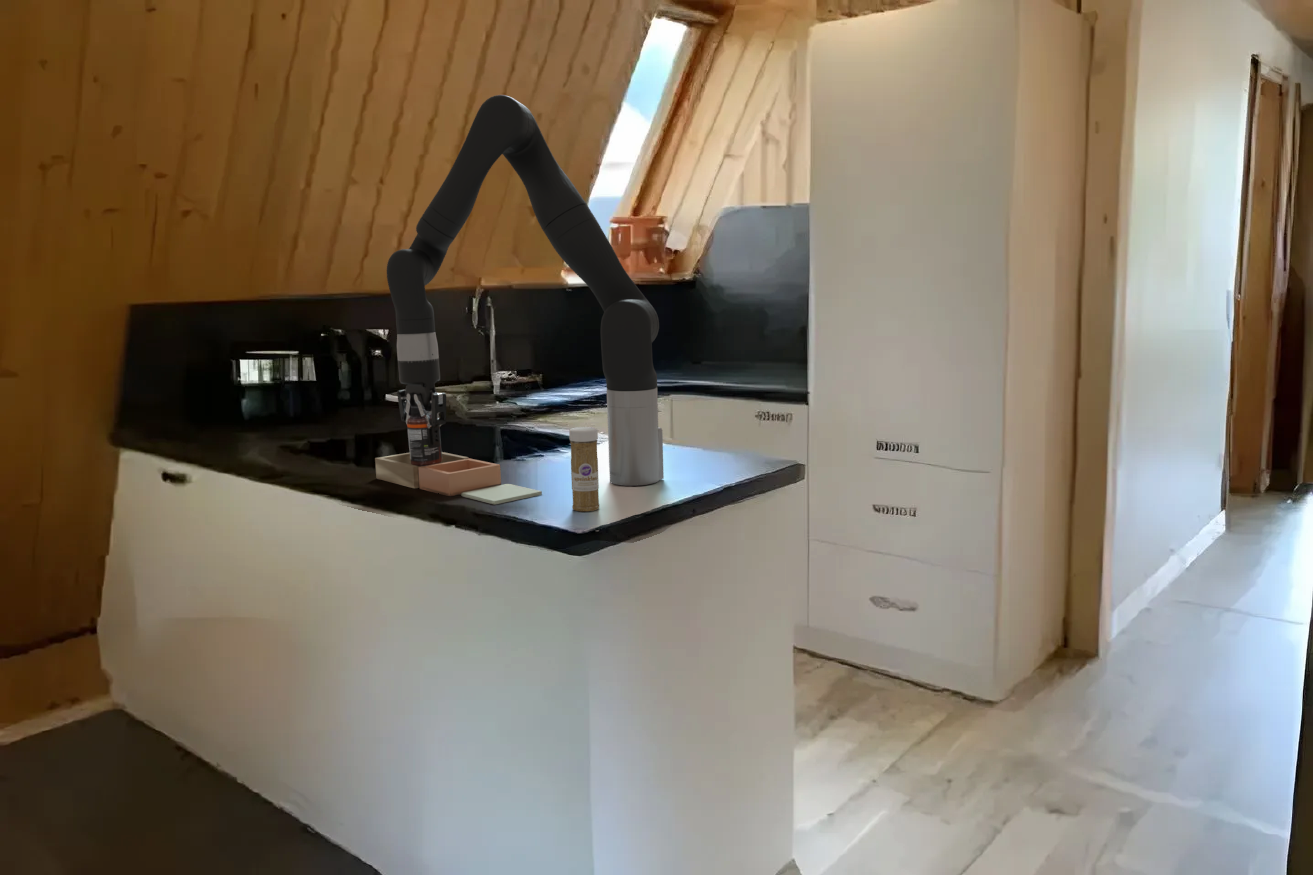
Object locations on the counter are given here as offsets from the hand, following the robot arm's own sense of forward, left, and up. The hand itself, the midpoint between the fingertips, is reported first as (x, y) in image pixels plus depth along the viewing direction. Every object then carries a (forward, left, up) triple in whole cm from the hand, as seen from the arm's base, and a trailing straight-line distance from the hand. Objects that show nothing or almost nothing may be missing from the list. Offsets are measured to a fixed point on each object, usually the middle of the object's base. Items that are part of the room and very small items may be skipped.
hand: (425, 445), depth 194 cm
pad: (-1, +23, -7) cm, 24 cm away
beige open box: (0, -1, -7) cm, 7 cm away
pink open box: (0, +12, -7) cm, 13 cm away
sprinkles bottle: (-4, +43, -7) cm, 43 cm away
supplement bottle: (0, 0, -4) cm, 4 cm away
